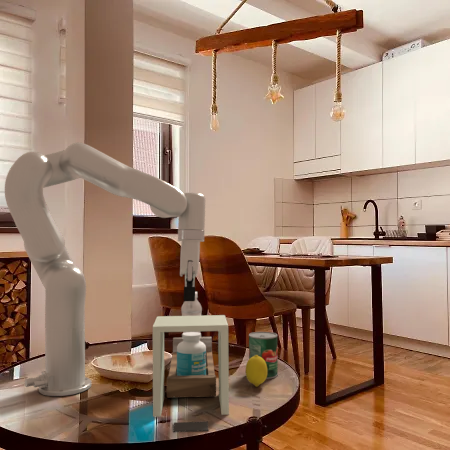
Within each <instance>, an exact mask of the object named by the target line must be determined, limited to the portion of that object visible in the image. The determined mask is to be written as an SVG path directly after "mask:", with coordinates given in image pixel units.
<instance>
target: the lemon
mask: <svg viewBox="0 0 450 450" xmlns="http://www.w3.org/2000/svg"><path fill="white" fill-rule="evenodd" d="M245 376H246V379H247V380H248V382H249V383H250V384H253V386H254V387H256V388H257V387H259V386H260V385H262V384H263V383H264V382H265V381H266V380H267V379H266V377H267V365H266V362H265V360H264V359H263V358H261V357H259V356H258V355H255V356H253V357H251V358H250V359H249V358H248V360H247V362H246V366H245Z"/></svg>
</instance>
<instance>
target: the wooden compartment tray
mask: <svg viewBox="0 0 450 450" xmlns="http://www.w3.org/2000/svg"><path fill="white" fill-rule="evenodd" d="M212 340H213V338H212V336H201V338H200V341H201V342H203V343H204V344H205V346H206V375H191V376H177V346H178V344H179V343H181V342H183V339H182V336H181V337H179V336H178V337H172V357H171V360H170V367H169V371H168V375H167V377H166V398H167V399H168V398H193V397H194V398H198V397H200V398H201V397H217V375H216V374H215V373H216V372H215V366H214V358H213V341H212Z"/></svg>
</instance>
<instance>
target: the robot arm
mask: <svg viewBox="0 0 450 450" xmlns="http://www.w3.org/2000/svg"><path fill="white" fill-rule="evenodd" d="M79 179H82V180H84V181H86V182H89V183H91V184H92V185H94V186H97V187H98V188H101V189H103V190H104V191H106V192H108V193H111V194H112V195H115V196H118V197H121V198H127V199H128V198H129V199H133V200H136V201H138V202H140V203H141V202H142V203H144V204H147V205H148V206H149V208H150V211H151V212H152V214H154V216H156V217H159V218H162V219H166V218H176V217H177V218H178V226H177V228H178V229H177V242H181V245H180V256H179V257H180V259H179V260H180V265H179V266H180V267H179V276H180V277H183V275H184V287H183V302H185V301H195V291H196V286H195V281H196V280H195V278H196V277H197V276H198V273H199V266H200V265H199V264H200V253H201V252H200V250H201V242H205V230H206V229H205V225H206V224H205V223H206V222H205V221H206V197H205V195H204V194H202V193H199V192H183V191H181V190H180V189H179V188H177V187H176V186H173V185H172V184H170V183H168V182H167V181H165V180H162V179H160V178H158V177H156V176H154V175H151V174H149V173H147V172H143V171H141V170H139V169H137V168H134V167H130V166H129V165H127V164H125V163H123V162H120V160H117V159H115V158H113V157H112V156H109V155H108V154H106V153H104V152H103V151H101V150H98V149H96V148H95V147H93V146H91V145H89V144H86V143H83V142H75V143H72V144H70V145H68V146H67V147H66V148H65V149H63V150H61V151H56V152H52V153H48V154H43V153H41V152H38V151H28V152H26V153H23V154H22V155H20V156H19V157H18V158H17V159H16V160H15V161H14V163H13V164H12V165H11V167H10V168H9V170H8V172H7V174H6V178H5V181H4V199H5V202H6V206H7V208H8V210H9V213H10V215H11V217H12V219H13V221H14V224H15V227H16V228H17V230H18V232H19V234H20V236H21V238H22V240H23V246H24V251H25V253H26V254H27V256H28V258H29V260H30V262H31V264H32V266H33V268H34V270H35V272H36V274H37V276H38V277H39V279H40V281H41V284H42V286H43V287H44V289H45V290H44V291H45V300H44V301H45V305H44V313H45V314H44V329H45V330H44V332H45V333H44V337H45V340H44V341H45V344H44V345H45V347H44V348H45V349H44V351H45V352H44V353H45V355H44V357H45V358H44V359H45V360H44V361H45V363H44V364H45V365H44V369H45V370H41V374H39V375H38V376H37V377H29V378H25V379H24V386H25V388H29V387H33V388H34V389H35V388H38V392H39V393H40V394H41V395H44V396H49V397H62V396H63V397H65V396H71V395H75V394H80V393H83V392H85V391H87V390H88V389H90V388H91V387H92V379H90V378H89V377H86V329H85V328H86V325H85V322H86V321H85V319H86V317H85V316H86V315H85V311H86V296H87V281H86V278H85V277H86V276H85V274H84V272H83V271H82V269H81V268H79V266H77V265H76V264H75V263H74V262H73V260H72V257H71V255H70V253H69V251H68V249H67V247H66V240H65V237H64V235H63V233H62V232H61V230H60V228H59V227H58V225H57V222H55V220H54V217H53V215H52V212H51V211H50V209H49V206H48V204H47V202H46V200H45V196H44V188H49V187H52V186H56V185H60V184H64V183H69V182H71V181H76V180H79Z"/></svg>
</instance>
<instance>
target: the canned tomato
mask: <svg viewBox="0 0 450 450" xmlns="http://www.w3.org/2000/svg"><path fill="white" fill-rule="evenodd" d="M255 355H258V356H259V357H261V358H263V359H264V360H265V362H266V365H267V377H266V379H265V380H270V379H274V378H277V377H278V376H279V373H278V371H279V370H278V369H279V368H278V365H279V363H278V334H277V333H276V332H272V331H255V332H253V331H252V332H250V333H249V334H248V360H249V359H250V358H251V357H253V356H255ZM277 375H278V376H277ZM276 376H277V377H276Z"/></svg>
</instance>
